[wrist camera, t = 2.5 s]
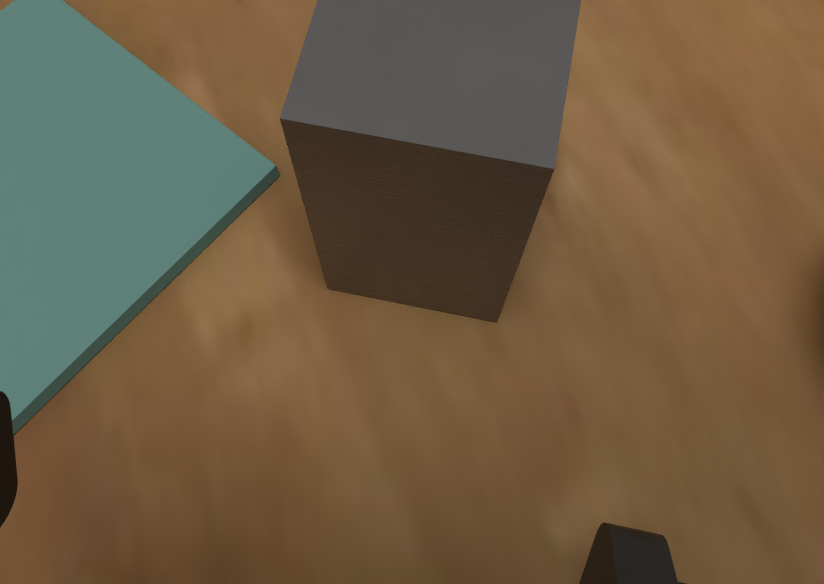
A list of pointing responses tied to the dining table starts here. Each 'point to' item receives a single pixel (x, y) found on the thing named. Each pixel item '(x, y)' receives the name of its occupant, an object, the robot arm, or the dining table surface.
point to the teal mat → (97, 193)
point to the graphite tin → (428, 142)
